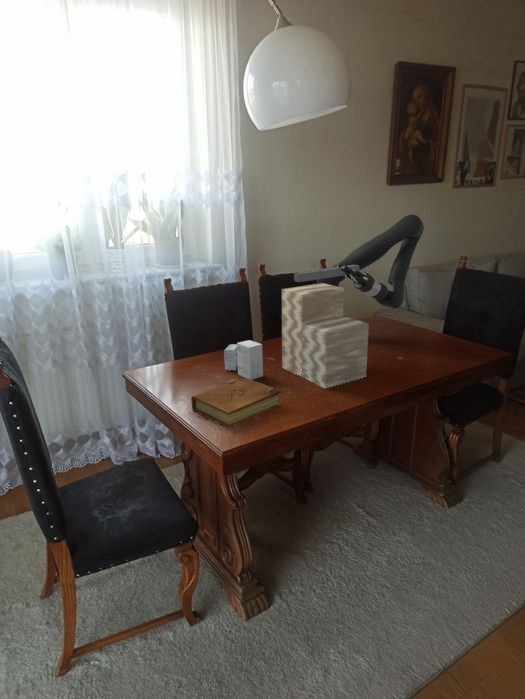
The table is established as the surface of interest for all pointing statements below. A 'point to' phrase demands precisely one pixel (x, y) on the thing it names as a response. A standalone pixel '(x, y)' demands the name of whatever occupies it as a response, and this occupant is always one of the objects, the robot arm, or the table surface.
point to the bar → (322, 273)
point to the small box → (250, 359)
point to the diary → (236, 401)
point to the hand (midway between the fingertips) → (340, 267)
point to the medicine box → (231, 357)
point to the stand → (322, 336)
